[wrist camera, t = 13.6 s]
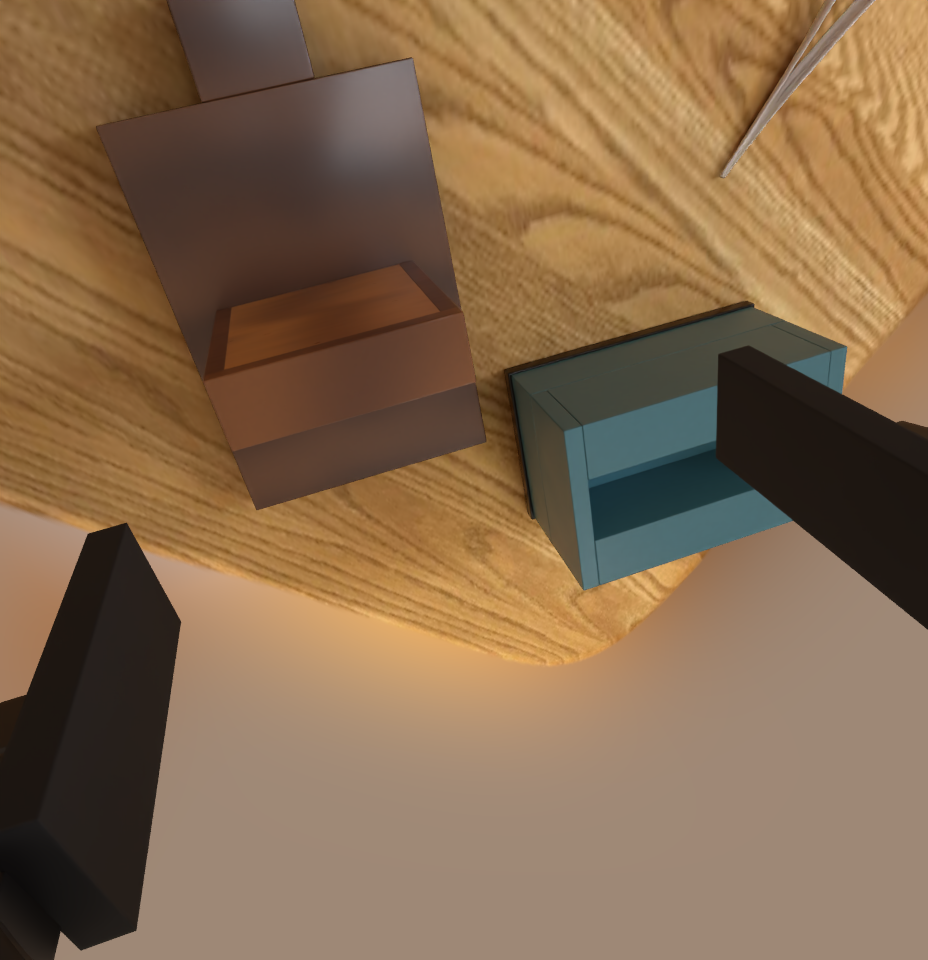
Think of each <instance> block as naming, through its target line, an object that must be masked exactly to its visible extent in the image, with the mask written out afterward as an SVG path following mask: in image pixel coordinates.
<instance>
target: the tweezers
mask: <svg viewBox="0 0 928 960" xmlns="http://www.w3.org/2000/svg"><path fill="white" fill-rule="evenodd" d="M835 1H836V0H825V1H824V3H823V5H822V7H821V9H820V11H819V12H818V14H817V16H816V18H815V20H814V21H813V23H812V25H811V27H810V29H809V30H808V32H807V34H806V36H805V38H804V39H803V41H802V43H801V45H800V47H799V48H798V50H797V52H796V53H795V55H794V57H793V59H792V60H791V62H790V64H789V65H788V67H787V69H786V71H785V72H784V74H783V76H782V77H781V79H780V80H779V82H778V84H777V85H776V87H775V89H774V90H773V92H772V93H771V95H770V97H769V98H768V100H767V101H766V103H765V105H764V106H763V108H762V109H761V111H760V113H759V114H758V116H757V117H756V119H755V121H754V122H753V124H752V125H751V127H750V129H749V130H748V132H747V134H746V135H745V137H744V138H743V140H742V141H741V143H740V145H739V146H738V148H737V149H736V151H735V153H734V154H733V156H732V157H731V159H730V161H729V162H728V164H727V165H726V167H725V168H724V170H723V172H722V173H721V175H720V177H722V178H725V177H726V176H727V174H728V173H729V172H730V170H731V169H732V168H733V166H734V165H735V164H736V162H737V161H738V160H739V158H740V157H741V156H742V155H743V153H744V152H745V151H746V149H747V148H748V147H749V146H750V145H751V144H752V142H753V141H754V140H755V138H756V137H757V136H758V135H759V133H760V132H761V131H762V129H763V128H764V127H765V126H766V124H767V123H768V122H769V121H770V119H771V118H772V117H773V116H774V114H775V113H776V112H777V111H778V110H779V109H780V107H781V106H782V105H783V104H784V103H785V101H786V100H787V99H788V98H789V97H790V95H791V94H792V93H793V92H794V91H795V89H796V88H797V87H798V86H799V85H800V84H801V82H802V81H803V80H804V79H805V78H806V77H807V75H809V74H810V73H811V72H812V70H813V69H814V68H815V67H816V65H817V64H818V63H819V62H820V61H821V60H822V59H823V57H824V56H825V55H826V54H827V53H828V52H829V51H830V49H831V48H832V47H833V46H834V45H835V44H836V42H837V41H838V40H839V39H840V38H841V37H842V36H843V35H844V34H845V32H846V31H847V30H848V29H849V28H850V27H851V26H852V25H853V24H854V23H855V22H856V20H857V19H858V18H859V17H860V16H861V15H862V14H863V13H864V12H865V11H866V10H867V9H868V8H869V7H870V5H871V4H872V3H873V2H874V1H875V0H855V1H854V2H853V3H852V4H851V5H850V6H849V8H848V9H847V10H846V11H845V12H844V13H843V14H842V16H841V17H840V18H839V19H838V20H837V21H836V22H835V23H834V24H833V25H832V26H831V27H830V29H829V30H828V31H827V32H826V33H825V34H824V35H823V36H822V38H821V39H820V40H819V41H818V42H817V44H816V45H815V46H814V47H813V48H812V49H811V51H810V52H809V53H808V54H807V55H806V56H805V57H804V58H803V60H802V61H801V62H800V63H799V64H798V66H797V67H796V68H795V69H794V70H793V71H792V69H793V68H794V66H795V65H796V63H797V62H798V60H799V59H800V57H801V56H802V54H803V53H804V51H805V50H806V48H807V46H808V45H809V43H810V41H811V40H812V38H813V37H814V35H815V34H816V32H817V31H818V29H819V27H820V26H821V24H822V22H823V20H824V19H825V17H826V15H827V14H828V12H829V10H830V9H831V7H832V6H833V4H834V3H835ZM791 71H792V73H790V72H791ZM789 74H790V75H789Z"/></svg>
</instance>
